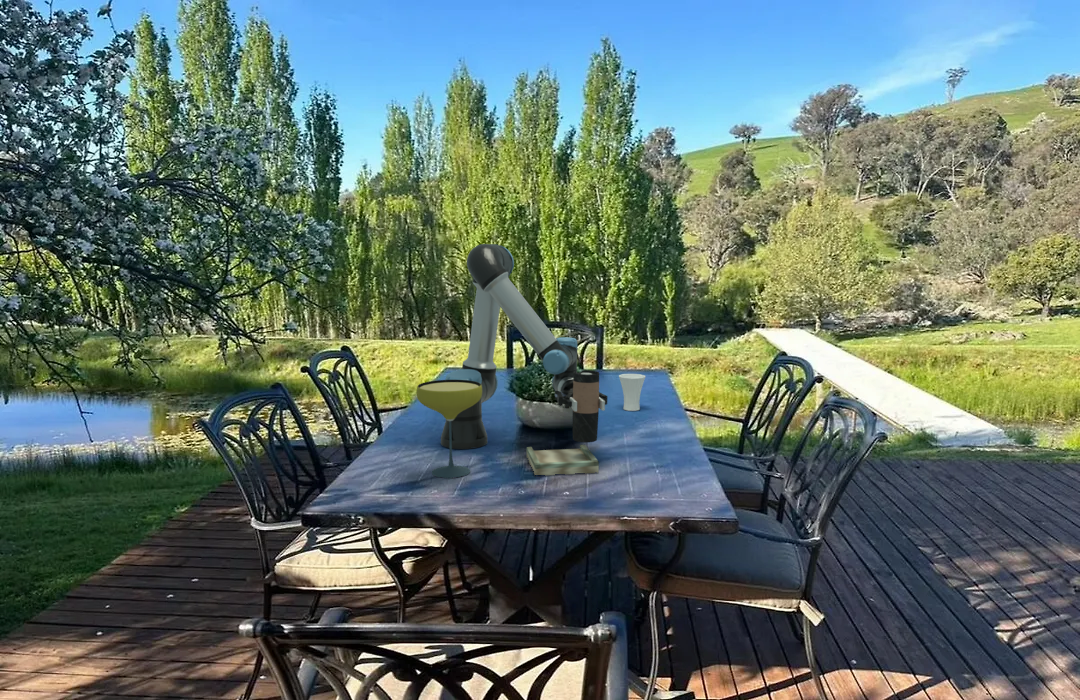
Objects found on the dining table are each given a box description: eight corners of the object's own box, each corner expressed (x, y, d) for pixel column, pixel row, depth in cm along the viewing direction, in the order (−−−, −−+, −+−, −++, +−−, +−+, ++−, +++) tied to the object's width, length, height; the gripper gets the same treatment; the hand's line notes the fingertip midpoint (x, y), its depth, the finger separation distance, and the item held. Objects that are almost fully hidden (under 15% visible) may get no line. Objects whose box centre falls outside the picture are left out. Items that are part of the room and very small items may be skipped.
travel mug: (596, 443, 198) (598, 375, 195) (570, 442, 199) (571, 373, 196) (599, 436, 205) (600, 370, 203) (573, 435, 207) (575, 369, 204)
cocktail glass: (487, 480, 187) (486, 389, 184) (419, 484, 184) (417, 392, 180) (479, 461, 205) (478, 378, 201) (417, 464, 201) (415, 380, 198)
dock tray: (535, 475, 191) (535, 464, 190) (526, 457, 208) (526, 447, 208) (598, 472, 194) (598, 461, 193) (584, 454, 211) (584, 444, 211)
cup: (617, 411, 269) (618, 377, 268) (619, 406, 280) (619, 373, 278) (644, 412, 268) (645, 378, 266) (645, 407, 278) (645, 374, 276)
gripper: (602, 401, 221) (623, 418, 198) (540, 403, 217) (554, 420, 195) (603, 378, 220) (624, 392, 197) (540, 379, 216) (555, 394, 194)
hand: (589, 406), depth 196 cm, fingers closed on travel mug, 7 cm apart
